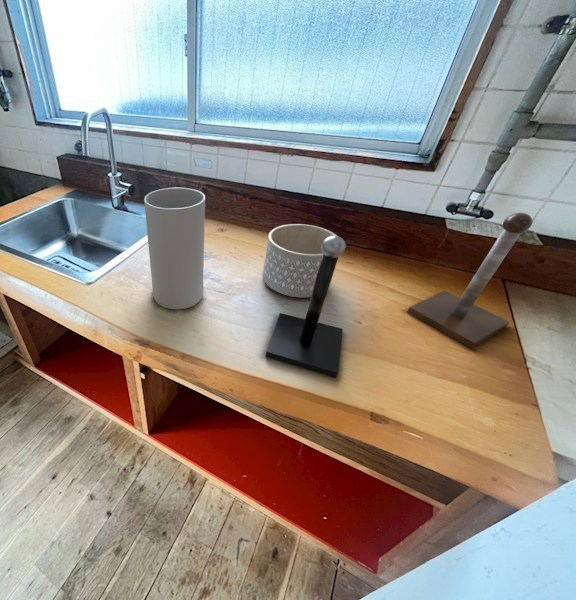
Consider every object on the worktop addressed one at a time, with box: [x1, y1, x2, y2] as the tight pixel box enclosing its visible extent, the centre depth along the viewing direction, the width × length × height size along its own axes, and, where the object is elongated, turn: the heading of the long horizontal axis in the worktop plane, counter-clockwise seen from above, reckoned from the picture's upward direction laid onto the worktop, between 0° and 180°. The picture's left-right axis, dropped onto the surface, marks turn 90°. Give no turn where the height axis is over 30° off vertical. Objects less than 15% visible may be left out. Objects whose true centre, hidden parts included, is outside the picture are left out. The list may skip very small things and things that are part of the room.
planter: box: [262, 223, 338, 298], centre depth 80 cm, size 16×16×13 cm
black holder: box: [264, 235, 347, 379], centre depth 60 cm, size 25×13×13 cm
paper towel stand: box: [407, 212, 534, 349], centre depth 62 cm, size 25×13×13 cm
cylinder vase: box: [143, 187, 206, 310], centre depth 73 cm, size 12×12×25 cm
